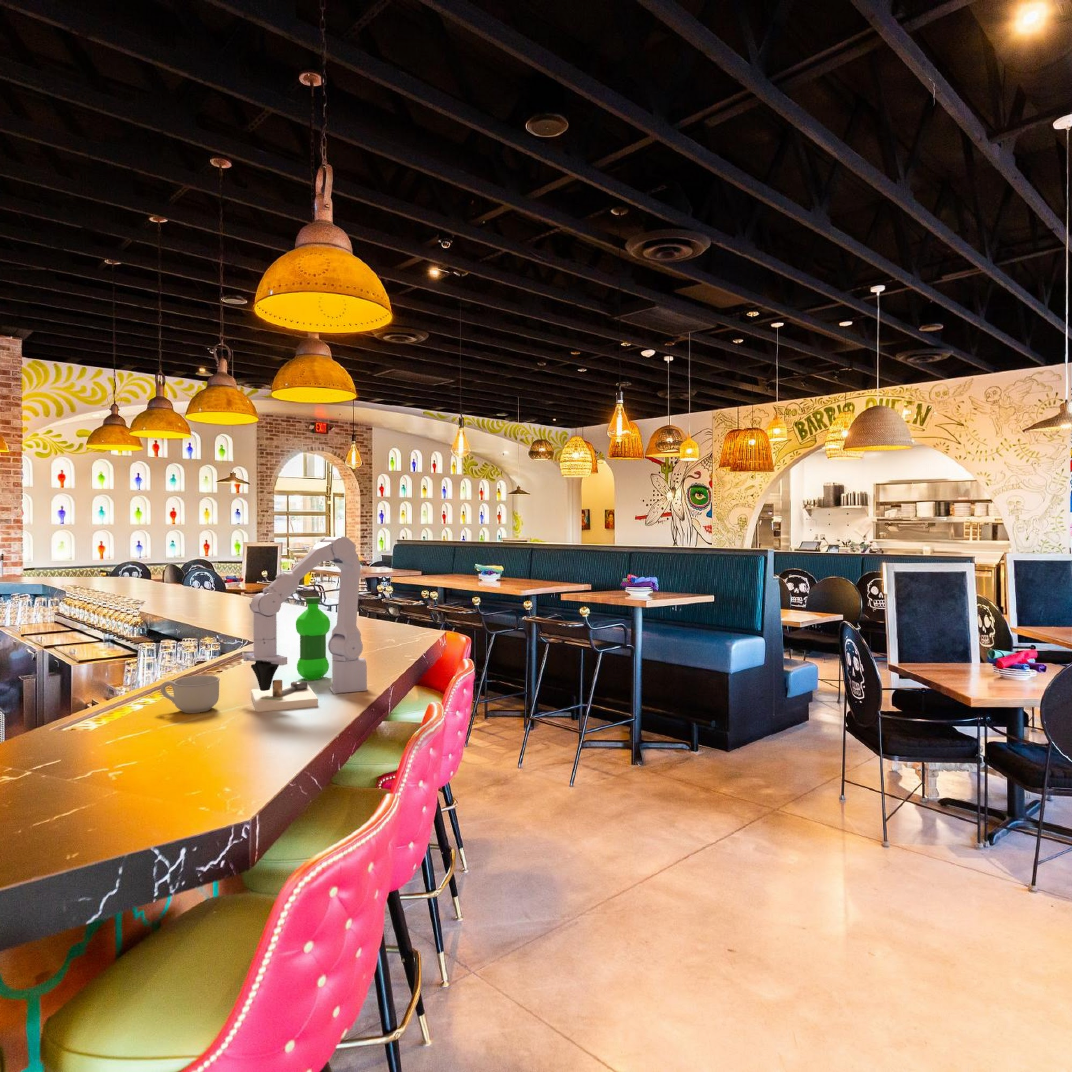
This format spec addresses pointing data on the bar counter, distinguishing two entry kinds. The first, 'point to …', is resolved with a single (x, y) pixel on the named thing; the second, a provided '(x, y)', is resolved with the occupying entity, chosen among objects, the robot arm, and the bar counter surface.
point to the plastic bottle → (312, 641)
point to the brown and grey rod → (294, 686)
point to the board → (283, 699)
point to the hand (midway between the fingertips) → (265, 690)
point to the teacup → (193, 693)
